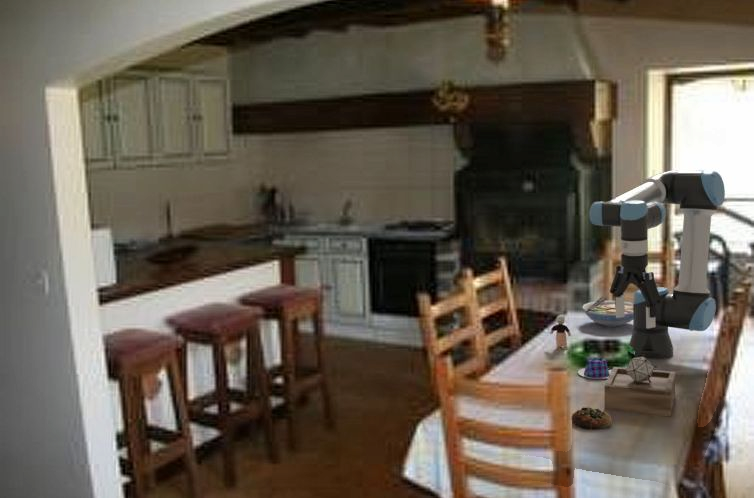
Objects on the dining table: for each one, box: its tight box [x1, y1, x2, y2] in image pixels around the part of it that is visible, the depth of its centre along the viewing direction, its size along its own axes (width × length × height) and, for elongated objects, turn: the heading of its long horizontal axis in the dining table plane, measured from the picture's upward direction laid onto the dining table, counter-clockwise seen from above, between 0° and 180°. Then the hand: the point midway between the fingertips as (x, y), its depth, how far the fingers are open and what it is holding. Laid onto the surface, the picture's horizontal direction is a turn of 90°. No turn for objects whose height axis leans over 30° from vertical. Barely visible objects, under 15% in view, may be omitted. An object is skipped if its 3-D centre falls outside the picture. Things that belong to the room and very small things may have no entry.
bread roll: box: [571, 407, 613, 431], centre depth 216 cm, size 11×11×5 cm
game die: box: [623, 354, 658, 385], centre depth 228 cm, size 9×8×10 cm
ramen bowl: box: [582, 296, 633, 327], centre depth 313 cm, size 25×23×8 cm
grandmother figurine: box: [550, 314, 572, 351], centre depth 285 cm, size 8×4×13 cm, turn 71°
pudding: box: [577, 357, 612, 380], centre depth 255 cm, size 12×12×5 cm
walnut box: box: [603, 366, 676, 417], centre depth 229 cm, size 18×18×7 cm
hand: (635, 322), depth 233 cm, fingers open, 13 cm apart
